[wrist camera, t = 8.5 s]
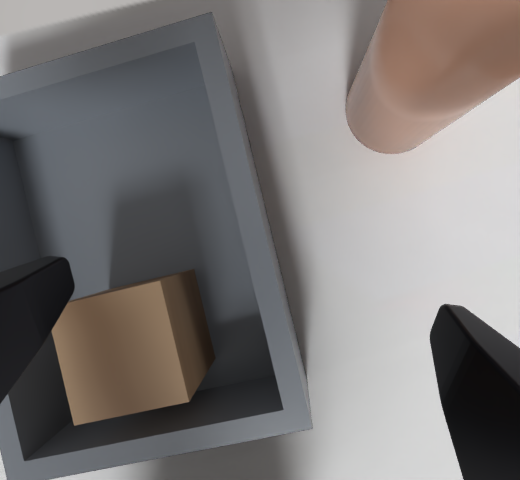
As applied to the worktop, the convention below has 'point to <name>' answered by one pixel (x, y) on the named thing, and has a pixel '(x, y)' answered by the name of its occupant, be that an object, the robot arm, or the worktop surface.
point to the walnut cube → (133, 347)
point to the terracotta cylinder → (431, 68)
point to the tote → (145, 241)
